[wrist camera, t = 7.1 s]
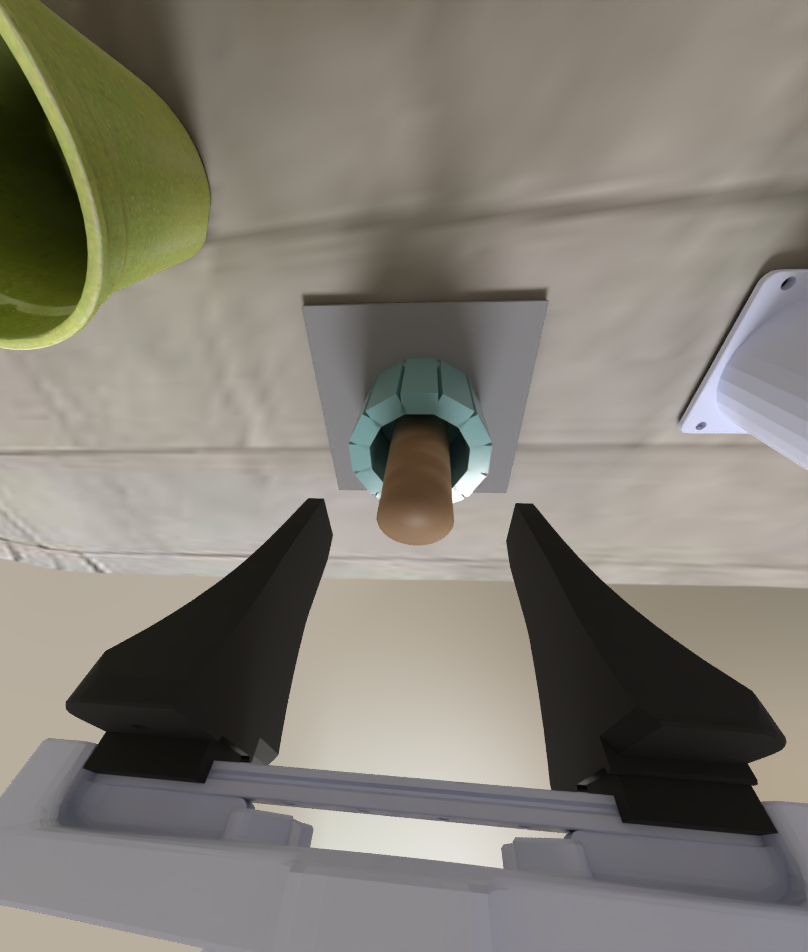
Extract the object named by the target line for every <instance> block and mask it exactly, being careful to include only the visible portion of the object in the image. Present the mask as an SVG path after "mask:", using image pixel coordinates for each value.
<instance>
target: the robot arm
mask: <svg viewBox="0 0 808 952" xmlns="http://www.w3.org/2000/svg"><path fill="white" fill-rule="evenodd" d="M787 278H788V281H787V283H786V284H785V285H784V286H783V287H781V285H782V283H783V282H784V281H785V280H786V279H787ZM701 422H702V423H701ZM699 423H701V424H700V425H698V424H699ZM697 425H698V426H697ZM678 428H679V429H680V430H681V431H683V432H684V433H749V434H751V435H752V436H754V437H756V438H757V439H759V440H760V441H762V442H763V443H765V444H767V445H768V446H770V447H771V448H773V449H774V450H776V451H778V452H779V453H781V454H782V455H784V456H785V457H787V458H789V459H790V460H792V461H793V462H795V463H797V464H798V465H800V466H801V467H803V468H804V469H806V470H808V269H781V270H773V271H770V272H769V273H767V274H765V275H764V276H763V277H762V278H761V279H760V280H759V282H758V283H757V285H756V286H755V288H754V290H753V292H752V294H751V295H750V297H749V299H748V301H747V302H746V304H745V306H744V308H743V310H742V311H741V313H740V315H739V317H738V319H737V320H736V322H735V324H734V326H733V327H732V329H731V331H730V333H729V335H728V336H727V338H726V340H725V342H724V343H723V345H722V347H721V349H720V351H719V352H718V354H717V356H716V358H715V360H714V361H713V363H712V365H711V367H710V368H709V370H708V372H707V374H706V376H705V377H704V379H703V381H702V383H701V384H700V386H699V388H698V390H697V392H696V393H695V395H694V397H693V399H692V401H691V402H690V404H689V406H688V408H687V409H686V411H685V413H684V415H683V417H682V418H681V420H680V422H679V424H678ZM332 537H333V534H332V530H331V526H330V522H329V518H328V514H327V509H326V505H325V501H324V499H316V498H308V499H307V500H306V501H305V502H304V503H303V504H302V505H301V506H300V507H299V508H298V509H297V511H296V512H295V513H294V514H293V515H292V516H291V517H290V518H289V519H288V520H287V521H286V522H285V523H284V524H283V525H282V526H281V527H280V528H279V529H278V530H277V531H276V532H275V533H274V534H273V535H272V536H271V537H270V538H269V539H268V540H267V541H266V542H265V543H264V544H263V545H262V546H261V547H260V548H259V549H257V550H256V551H255V552H254V553H253V554H252V555H251V556H250V557H249V558H248V559H246V560H245V561H244V562H243V563H242V564H241V565H239V566H238V567H237V568H236V569H235V570H233V571H232V572H231V573H229V574H228V575H227V576H226V577H224V578H223V579H222V580H221V581H219V582H218V583H216V584H215V585H214V586H212V587H211V588H209V589H208V590H206V591H205V592H204V593H202V594H201V595H199V596H198V597H197V598H195V599H194V600H192V601H191V602H189V603H188V604H186V605H185V606H183V607H182V608H180V609H178V610H177V611H175V612H174V613H172V614H170V615H169V616H167V617H165V618H164V619H162V620H161V621H159V622H157V623H156V624H154V625H152V626H150V627H149V628H147V629H145V630H143V631H141V632H140V633H138V634H136V635H134V636H132V637H131V638H129V639H127V640H125V641H123V642H121V643H120V644H118V645H116V646H114V647H112V648H110V649H108V650H106V651H105V652H104V654H103V655H102V656H101V657H100V659H99V660H98V661H97V662H96V664H95V665H94V666H93V668H92V669H91V670H90V672H89V673H88V674H87V675H86V677H85V678H84V679H83V681H82V682H81V683H80V685H79V686H78V687H77V688H76V690H75V691H74V692H73V693H72V695H71V696H70V697H69V699H68V700H67V701H66V710H67V711H68V712H69V713H70V714H72V715H74V716H76V717H77V718H79V719H81V720H84V721H86V722H88V723H90V724H92V725H94V726H96V727H98V728H100V729H102V730H104V731H106V733H105V734H104V736H103V737H102V739H101V740H100V742H99V744H95V743H91V742H85V741H76V740H64V739H52V738H48V739H46V740H44V741H43V742H42V743H41V744H40V746H39V747H38V748H37V750H36V751H35V752H34V753H33V755H32V756H31V757H30V759H29V760H28V761H27V763H26V764H25V765H24V767H23V768H22V769H21V771H20V772H19V773H18V775H17V776H16V777H15V779H14V780H13V781H12V782H11V784H10V785H9V786H8V788H7V789H6V790H5V792H4V793H3V794H2V796H1V797H0V905H4V906H9V907H14V908H19V909H24V910H29V911H33V912H38V913H42V914H48V915H52V916H56V917H61V918H66V919H70V920H75V921H80V922H84V923H89V924H93V925H98V926H103V927H108V928H112V929H117V930H121V931H126V932H130V933H135V934H140V935H145V936H149V937H154V938H158V939H163V940H168V941H173V942H177V943H181V944H186V945H191V946H195V947H200V948H202V951H201V952H808V804H806V803H794V802H782V801H765V802H760V800H759V799H758V797H757V795H756V793H755V791H754V790H753V788H752V786H751V785H753V786H754V785H757V784H758V783H757V779H756V777H755V775H754V774H753V772H752V770H751V769H750V767H749V765H748V763H750V762H753V761H755V760H758V759H761V758H764V757H767V756H769V755H772V754H774V753H776V752H778V751H780V750H782V749H783V748H784V747H785V745H786V738H785V736H784V735H783V733H782V732H781V731H780V729H779V728H778V726H777V725H776V723H775V722H774V720H773V719H772V717H771V716H770V715H769V713H768V712H767V710H766V709H765V707H764V706H763V705H762V703H761V702H760V701H759V699H758V698H757V697H756V695H755V694H754V693H753V691H751V690H750V689H748V688H747V687H745V686H744V685H742V684H740V683H739V682H737V681H736V680H734V679H733V678H731V677H730V676H728V675H726V674H725V673H723V672H722V671H720V670H718V669H717V668H715V667H714V666H712V665H711V664H709V663H707V662H706V661H705V660H703V659H702V658H700V657H699V656H697V655H696V654H694V653H693V652H692V651H690V650H689V649H687V648H686V647H684V646H683V645H681V644H680V643H679V642H677V641H676V640H674V639H673V638H671V637H670V636H669V635H668V634H666V633H665V632H663V631H662V630H661V629H659V628H658V627H657V626H655V625H654V624H653V623H652V622H650V621H649V620H648V619H647V618H645V617H644V616H643V615H642V614H640V613H639V612H638V611H636V610H635V609H634V608H633V607H632V606H630V605H629V604H628V603H626V601H624V600H623V599H622V598H621V597H620V596H619V595H617V594H616V593H615V592H614V591H613V590H612V589H611V588H610V587H608V586H607V585H606V584H605V583H604V582H603V581H602V580H601V579H600V578H599V577H598V576H597V575H596V574H595V573H594V572H593V571H592V570H591V569H590V568H589V567H588V566H587V565H586V564H585V563H584V562H583V561H582V560H581V559H580V558H579V557H578V556H577V555H576V554H575V553H574V552H573V550H572V549H571V548H570V547H569V546H568V545H567V544H566V543H565V542H564V540H563V539H562V538H561V537H560V536H559V535H558V533H557V532H556V531H555V530H554V529H553V527H552V526H551V525H550V524H549V523H548V521H547V520H546V519H545V518H544V517H543V515H542V514H541V513H540V512H539V510H538V509H537V508H536V507H535V506H534V505H533V504H523V503H516V504H515V508H514V512H513V516H512V520H511V524H510V528H509V532H508V536H507V540H506V542H507V549H508V556H509V563H510V568H511V572H512V575H513V579H514V582H515V586H516V590H517V593H518V597H519V600H520V604H521V607H522V611H523V615H524V618H525V622H526V626H527V629H528V634H529V639H530V644H531V650H532V656H533V661H534V667H535V673H536V680H537V686H538V692H539V699H540V706H541V713H542V720H543V727H544V736H545V743H546V752H547V760H548V769H549V778H550V786H551V790H543V789H532V788H521V787H510V786H498V785H487V784H474V783H464V782H452V781H441V780H430V779H419V778H407V777H396V776H385V775H373V774H362V773H350V772H339V771H328V770H316V769H304V768H294V767H283V766H271V765H268V764H270V763H271V762H272V761H273V760H274V759H275V758H276V757H277V756H278V754H279V748H280V742H281V736H282V731H283V725H284V720H285V714H286V708H287V703H288V699H289V693H290V689H291V684H292V679H293V674H294V670H295V665H296V661H297V657H298V652H299V648H300V644H301V640H302V635H303V632H304V628H305V623H306V621H307V617H308V614H309V611H310V608H311V605H312V603H313V600H314V597H315V594H316V591H317V588H318V586H319V583H320V580H321V577H322V574H323V571H324V568H325V566H326V563H327V560H328V555H329V551H330V546H331V541H332ZM252 803H261V804H271V805H282V806H292V807H302V808H312V809H323V810H333V811H343V812H353V813H363V814H374V815H384V816H394V817H405V818H415V819H426V820H435V821H445V822H456V823H467V824H476V825H477V824H478V825H487V826H497V827H507V828H517V829H527V830H538V831H548V832H558V833H568V834H567V835H566V836H565V837H564V839H559V838H522V837H521V838H520V837H516V838H515V839H514V841H513V843H511V844H504V845H503V846H502V848H501V850H502V859H503V867H504V869H500V868H493V867H484V866H476V865H468V864H460V863H452V862H444V861H435V860H426V859H417V858H407V857H399V856H390V855H380V854H371V853H361V852H351V851H340V850H329V849H318V848H310V844H311V839H312V834H313V827H312V826H311V825H308V824H305V823H301V822H299V821H297V820H294V819H293V816H290V815H284V814H278V813H272V812H266V811H260V810H255V807H254V805H253V804H252Z"/></svg>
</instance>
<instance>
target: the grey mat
mask: <svg viewBox="0 0 808 952" xmlns="http://www.w3.org/2000/svg"><path fill="white" fill-rule="evenodd" d="M548 302H549V301H548V300H504V301H459V302H415V303H370V304H326V305H303V306H302V311H303V315H304V320H305V325H306V330H307V335H308V340H309V345H310V350H311V355H312V360H313V365H314V369H315V374H316V379H317V384H318V389H319V394H320V399H321V404H322V409H323V414H324V418H325V423H326V428H327V433H328V438H329V443H330V448H331V453H332V458H333V463H334V468H335V472H336V477H337V482H338V487H339V490H367V488H366V487H365V486H364V485H363V484H362V483H361V482H360V480H359V479H358V478H357V477H356V476H355V475H354V474H355V471H353V470H352V463H351V457H350V451H349V445H348V444H349V442H350V441H349V439H350V437H351V434H352V432H353V429H354V427H355V424H356V421H357V419H358V416H359V414H360V411H361V408H362V406H363V403H364V401H365V399H366V397H367V394H368V392H369V390H370V388H371V386H372V384H373V382H374V380H375V378H376V377H378V375H379V374H380V373H381V372H383V371H385V370H386V369H388V368H390V367H391V366H393V365H395V364H396V363H398V362H400V361H401V360H404V361H405V360H406V359H407V358H437V360H439V361H440V359H441V360H443V361H445V362H446V363H448V364H450V365H451V366H453V367H455V368H456V369H458V370H460V371H462V372H463V373H465V375H466V377H467V376H468V378H469V380H470V382H471V384H472V386H473V388H474V390H475V392H476V394H477V396H478V398H479V400H480V403H481V407H482V410H483V413H484V417H485V420H486V424H487V427H488V431H489V434H490V437H491V441H492V442H491V443H492V452H491V458H490V464H489V470H488V473H486V477H485V478H484V479H483V481H482V482H481V483H480V484H479V485H478V486H477V487H476V488H475V489H474V490H473V491H472V492H477V493H506V492H507V487H508V483H509V478H510V474H511V469H512V465H513V460H514V456H515V451H516V446H517V442H518V437H519V433H520V428H521V424H522V419H523V415H524V410H525V406H526V401H527V397H528V392H529V388H530V383H531V379H532V374H533V369H534V365H535V360H536V356H537V351H538V347H539V342H540V338H541V333H542V329H543V324H544V320H545V315H546V311H547V306H548Z"/></svg>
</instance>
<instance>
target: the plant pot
mask: <svg viewBox="0 0 808 952" xmlns="http://www.w3.org/2000/svg"><path fill="white" fill-rule="evenodd" d="M210 204H211V199H210V191H209V185H208V181H207V177H206V174H205V170H204V167H203V165H202V162H201V159H200V157H199V155H198V152H197V150H196V148H195V146H194V144H193V142H192V140H191V139H190V137H189V135H188V133H187V132H186V130H185V128H184V127H183V125H182V124H181V123H180V121H179V120H178V118H177V117H176V115H175V114H174V113H173V112H172V110H171V109H170V108H169V106H168V105H167V104H166V103H165V102H164V101H163V100H162V99H161V98H160V97H159V96H158V95H157V94H156V93H155V92H154V91H153V90H152V89H151V88H150V87H149V86H148V85H147V84H145V83H144V82H143V81H142V80H140V79H139V78H138V77H137V76H135V75H134V74H133V73H132V72H130V71H129V70H128V69H127V68H125V67H124V66H123V65H121V64H120V63H119V62H117V61H116V60H115V59H114V58H112V57H111V56H110V55H108V54H107V53H106V52H104V51H103V50H102V49H100V48H99V47H98V46H97V45H95V44H94V43H93V42H91V41H90V40H89V39H87V38H86V37H85V36H84V35H82V34H81V33H80V32H78V31H77V30H76V29H75V28H73V27H72V26H71V25H69V24H68V23H67V22H66V21H64V20H63V19H62V18H61V17H59V16H58V15H57V14H55V13H54V12H53V11H52V10H50V9H49V8H48V7H47V6H45V5H44V4H43V3H42V2H40V1H39V0H0V348H4V349H13V350H30V349H38V348H44V347H48V346H51V345H54V344H57V343H60V342H62V341H64V340H66V339H68V338H70V337H72V336H74V335H75V334H77V333H78V332H80V331H81V330H82V329H83V328H84V327H85V326H86V325H87V324H88V323H89V322H90V320H91V319H92V318H93V316H94V315H95V313H96V312H97V310H98V308H99V306H100V305H101V304H102V303H103V302H105V301H106V300H107V298H108V297H109V296H110V295H111V294H112V293H113V292H115V291H117V290H120V289H122V288H124V287H126V286H128V285H131V284H133V283H135V282H137V281H140V280H142V279H144V278H146V277H148V276H151V275H153V274H155V273H157V272H160V271H162V270H164V269H167V268H169V267H172V266H174V265H176V264H178V263H180V262H183V261H185V260H187V259H189V258H191V257H192V256H193V255H194V254H196V253H197V252H198V251H199V250H200V248H201V247H202V246H203V244H204V242H205V240H206V234H207V225H208V218H209V210H210Z"/></svg>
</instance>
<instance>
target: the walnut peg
mask: <svg viewBox="0 0 808 952" xmlns="http://www.w3.org/2000/svg"><path fill="white" fill-rule="evenodd" d="M377 522H378V525H379V527H380V529H381V530H382V531H383V533H385V534H386V535H387V536H388V537H390V538H391V539H393V540H395V541H397V542H400V543H403V544H408V545H427V544H431V543H434V542H437V541H439V540H441V539H443V538H444V537H445V536H446V535H448V533H449V532H450V531H451V529H452V527H453V523H454V515H453V500H452V485H451V470H450V455H449V440H448V425H447V421H445V420H444V419H442V418H440V417H438V416H436V415H434V414H404V415H402V416H401V417H399V418H397V419H395V423H394V429H393V434H392V439H391V444H390V449H389V455H388V460H387V465H386V470H385V475H384V481H383V486H382V491H381V496H380V501H379V507H378V512H377Z"/></svg>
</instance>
